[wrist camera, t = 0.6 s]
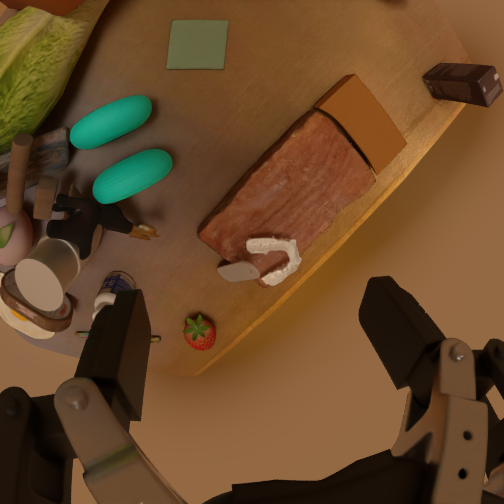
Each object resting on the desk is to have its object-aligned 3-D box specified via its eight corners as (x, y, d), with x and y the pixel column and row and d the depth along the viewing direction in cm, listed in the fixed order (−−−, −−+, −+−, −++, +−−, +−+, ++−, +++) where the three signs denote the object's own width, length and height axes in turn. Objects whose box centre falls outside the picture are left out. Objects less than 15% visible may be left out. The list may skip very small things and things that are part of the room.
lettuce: (82, -8, 21) (142, 43, 29) (-32, 116, 20) (23, 174, 28) (73, -62, 8) (153, -8, 17) (-84, 108, 8) (-26, 187, 16)
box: (434, 100, 33) (488, 109, 23) (421, 76, 31) (477, 79, 21) (452, 84, 32) (504, 91, 21) (440, 62, 30) (494, 63, 19)
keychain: (265, 274, 35) (248, 257, 34) (262, 278, 34) (245, 260, 34) (230, 279, 44) (216, 266, 43) (228, 282, 44) (214, 269, 43)
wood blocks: (-24, 210, 21) (-23, 138, 15) (-18, 196, 22) (-14, 126, 17) (145, 238, 38) (179, 184, 32) (143, 225, 39) (175, 170, 33)
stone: (-2, 214, 29) (-39, 198, 19) (-4, 186, 29) (-38, 165, 19) (88, 172, 33) (65, 142, 24) (84, 144, 33) (63, 109, 24)
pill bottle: (116, 264, 40) (99, 299, 32) (141, 285, 42) (130, 322, 35) (99, 283, 41) (82, 319, 34) (123, 302, 44) (111, 340, 36)
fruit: (223, 334, 50) (215, 313, 43) (215, 360, 46) (205, 343, 40) (195, 327, 51) (184, 306, 45) (186, 352, 47) (173, 335, 41)
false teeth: (291, 226, 34) (286, 219, 36) (244, 246, 35) (242, 238, 37) (309, 276, 38) (304, 267, 40) (267, 294, 39) (264, 284, 41)
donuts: (114, 191, 35) (86, 218, 26) (88, 125, 30) (50, 134, 21) (180, 163, 34) (169, 183, 26) (155, 93, 29) (133, 88, 21)
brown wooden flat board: (397, 142, 36) (410, 146, 33) (261, 278, 44) (264, 291, 41) (344, 74, 31) (355, 72, 28) (193, 229, 39) (192, 239, 36)
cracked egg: (60, 347, 47) (58, 353, 46) (0, 324, 43) (-2, 328, 42) (51, 289, 40) (47, 294, 39) (-15, 266, 36) (-19, 270, 35)
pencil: (76, 334, 46) (160, 340, 49) (74, 338, 45) (160, 344, 48) (74, 329, 45) (159, 335, 48) (72, 333, 44) (159, 339, 47)
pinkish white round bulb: (31, 256, 37) (2, 290, 28) (2, 224, 33) (-31, 252, 25) (54, 221, 35) (21, 252, 26) (22, 185, 31) (-16, 209, 23)
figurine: (47, 194, 27) (142, 224, 39) (35, 252, 26) (135, 273, 37) (72, 166, 21) (189, 211, 33) (53, 244, 19) (182, 273, 31)
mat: (172, 21, 25) (172, 20, 24) (228, 21, 26) (228, 20, 26) (167, 69, 28) (166, 69, 28) (223, 70, 29) (223, 69, 29)
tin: (13, 270, 37) (-9, 298, 30) (15, 258, 36) (-9, 284, 29) (77, 309, 43) (62, 342, 36) (81, 298, 42) (64, 331, 35)
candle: (92, 198, 35) (40, 248, 22) (112, 239, 38) (75, 304, 25) (58, 215, 35) (4, 268, 22) (79, 254, 38) (37, 316, 25)
